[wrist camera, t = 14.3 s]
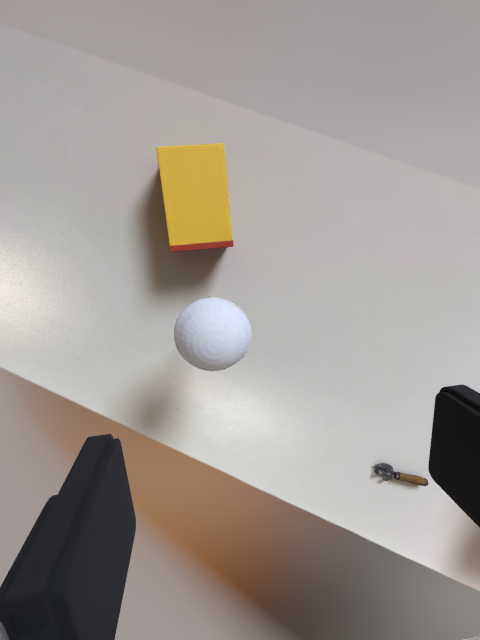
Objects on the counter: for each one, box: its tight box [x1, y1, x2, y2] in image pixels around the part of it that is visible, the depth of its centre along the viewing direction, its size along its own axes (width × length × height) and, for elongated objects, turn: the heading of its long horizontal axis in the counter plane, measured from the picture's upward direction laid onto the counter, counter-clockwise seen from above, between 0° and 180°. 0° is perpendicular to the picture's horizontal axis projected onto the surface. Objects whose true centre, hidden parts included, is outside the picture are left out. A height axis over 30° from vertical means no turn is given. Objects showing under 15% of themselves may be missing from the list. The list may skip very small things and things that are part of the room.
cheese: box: [156, 143, 233, 252], centre depth 32 cm, size 9×6×5 cm
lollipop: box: [174, 297, 251, 371], centre depth 30 cm, size 6×6×15 cm
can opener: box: [375, 463, 428, 486], centre depth 47 cm, size 9×2×1 cm, turn 65°
